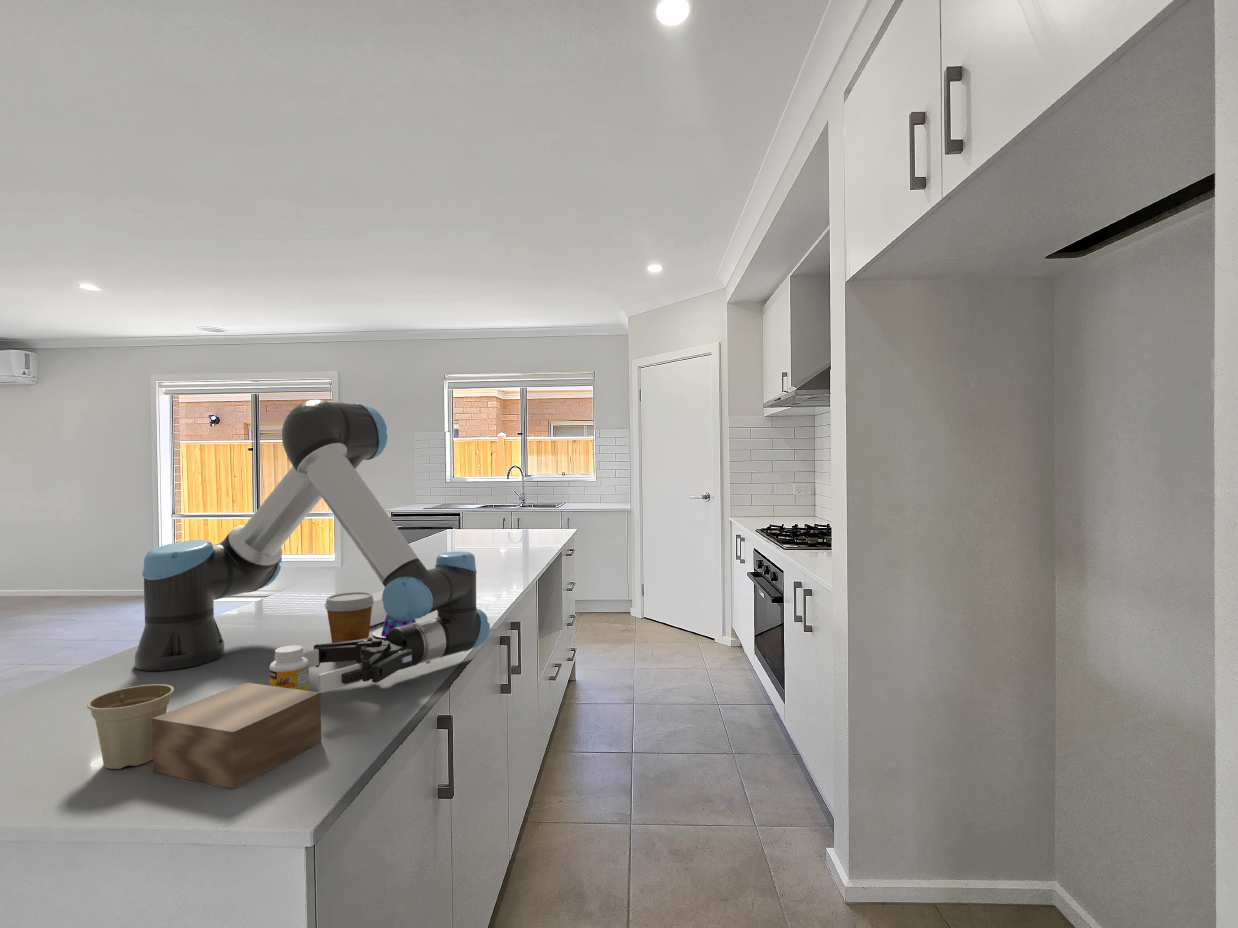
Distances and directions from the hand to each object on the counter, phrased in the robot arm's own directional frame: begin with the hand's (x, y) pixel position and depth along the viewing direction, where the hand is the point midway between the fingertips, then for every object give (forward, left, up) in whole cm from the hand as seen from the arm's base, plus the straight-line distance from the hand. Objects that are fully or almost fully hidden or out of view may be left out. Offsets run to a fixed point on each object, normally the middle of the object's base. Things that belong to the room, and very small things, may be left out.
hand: (298, 674), depth 105 cm
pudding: (-15, +44, -6) cm, 47 cm away
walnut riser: (+5, -15, -6) cm, 17 cm away
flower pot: (-8, -20, -6) cm, 22 cm away
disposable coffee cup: (-14, +27, -6) cm, 31 cm away
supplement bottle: (-1, -1, -6) cm, 6 cm away
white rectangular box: (-28, +53, -6) cm, 61 cm away
